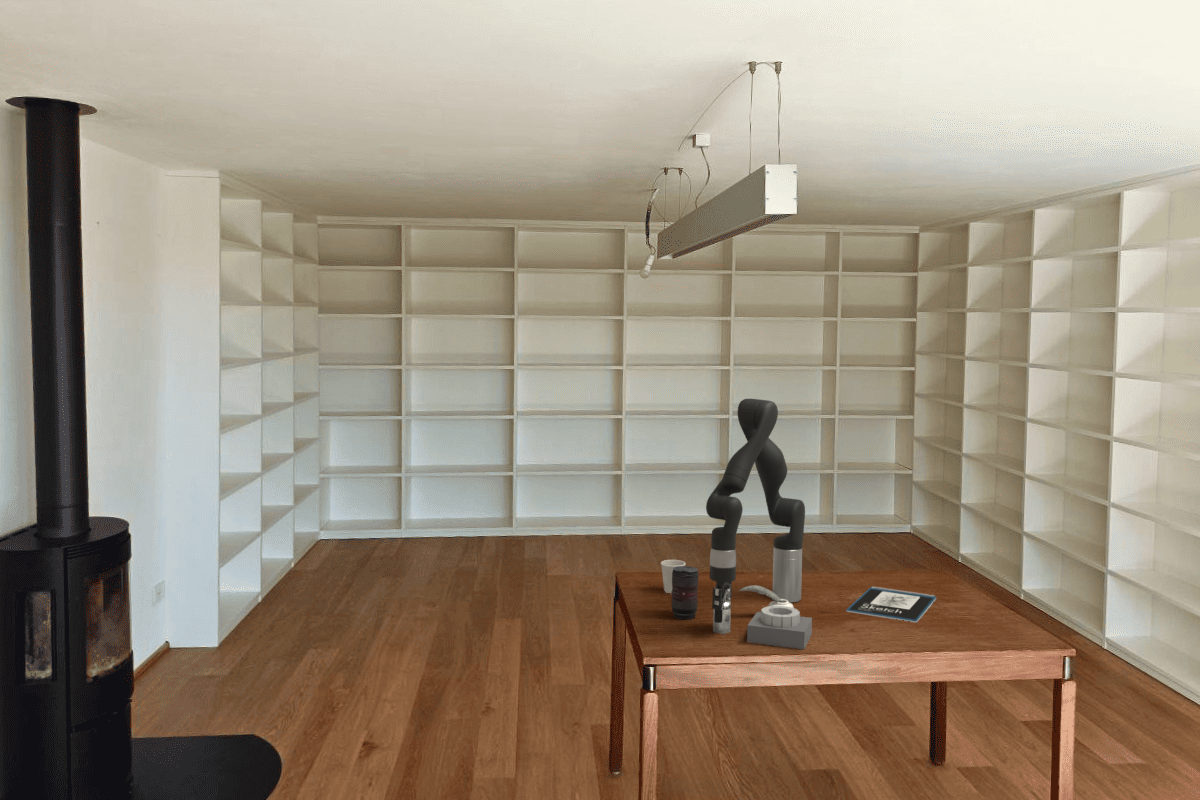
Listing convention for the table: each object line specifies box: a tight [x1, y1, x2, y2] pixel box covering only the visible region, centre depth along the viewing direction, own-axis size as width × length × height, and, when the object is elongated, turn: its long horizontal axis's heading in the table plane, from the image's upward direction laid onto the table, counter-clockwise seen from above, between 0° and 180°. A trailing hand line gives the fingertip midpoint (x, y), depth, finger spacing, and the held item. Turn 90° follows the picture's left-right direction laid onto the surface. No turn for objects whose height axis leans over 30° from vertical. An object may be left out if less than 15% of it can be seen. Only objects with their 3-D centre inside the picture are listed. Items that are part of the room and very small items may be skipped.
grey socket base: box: [746, 605, 813, 650], centre depth 278 cm, size 14×16×8 cm
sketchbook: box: [845, 585, 937, 624], centre depth 313 cm, size 22×30×2 cm
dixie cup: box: [660, 559, 687, 594], centre depth 326 cm, size 8×8×10 cm
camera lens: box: [670, 565, 699, 620], centre depth 298 cm, size 8×8×15 cm
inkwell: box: [738, 584, 795, 609], centre depth 298 cm, size 9×18×10 cm, turn 97°
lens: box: [712, 600, 732, 635], centre depth 284 cm, size 5×5×9 cm
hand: (721, 618), depth 284 cm, fingers open, 8 cm apart
